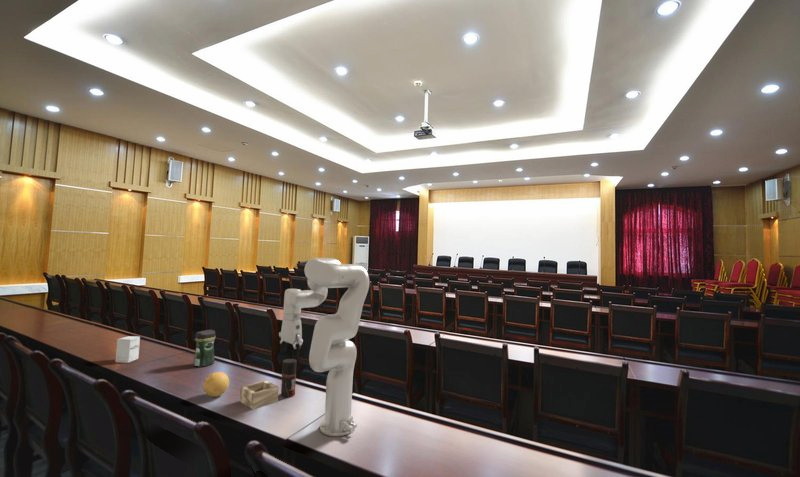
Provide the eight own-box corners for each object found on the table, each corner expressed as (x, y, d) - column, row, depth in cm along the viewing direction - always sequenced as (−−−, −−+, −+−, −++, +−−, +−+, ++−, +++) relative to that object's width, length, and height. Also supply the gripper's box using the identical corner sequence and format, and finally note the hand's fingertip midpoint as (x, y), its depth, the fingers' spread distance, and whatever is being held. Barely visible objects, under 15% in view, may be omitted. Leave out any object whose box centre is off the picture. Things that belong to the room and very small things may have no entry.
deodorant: (290, 398, 149) (292, 363, 149) (278, 396, 150) (280, 362, 151) (297, 393, 155) (299, 359, 155) (285, 391, 156) (287, 358, 156)
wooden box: (277, 401, 146) (278, 386, 146) (252, 409, 137) (253, 394, 137) (264, 393, 153) (264, 380, 153) (239, 401, 144) (240, 386, 144)
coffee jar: (208, 361, 194) (210, 328, 195) (216, 363, 190) (218, 329, 191) (190, 365, 185) (192, 330, 186) (199, 368, 181) (201, 333, 182)
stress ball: (228, 393, 154) (215, 376, 156) (237, 380, 150) (223, 363, 153) (208, 405, 145) (194, 387, 147) (216, 392, 141) (203, 373, 144)
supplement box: (128, 363, 186) (130, 339, 186) (114, 362, 186) (116, 338, 186) (138, 358, 193) (140, 336, 194) (126, 358, 193) (127, 335, 194)
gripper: (310, 318, 151) (308, 357, 151) (288, 312, 162) (285, 348, 162) (295, 321, 146) (293, 361, 145) (273, 314, 157) (271, 352, 156)
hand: (289, 354), depth 153 cm, fingers open, 9 cm apart
